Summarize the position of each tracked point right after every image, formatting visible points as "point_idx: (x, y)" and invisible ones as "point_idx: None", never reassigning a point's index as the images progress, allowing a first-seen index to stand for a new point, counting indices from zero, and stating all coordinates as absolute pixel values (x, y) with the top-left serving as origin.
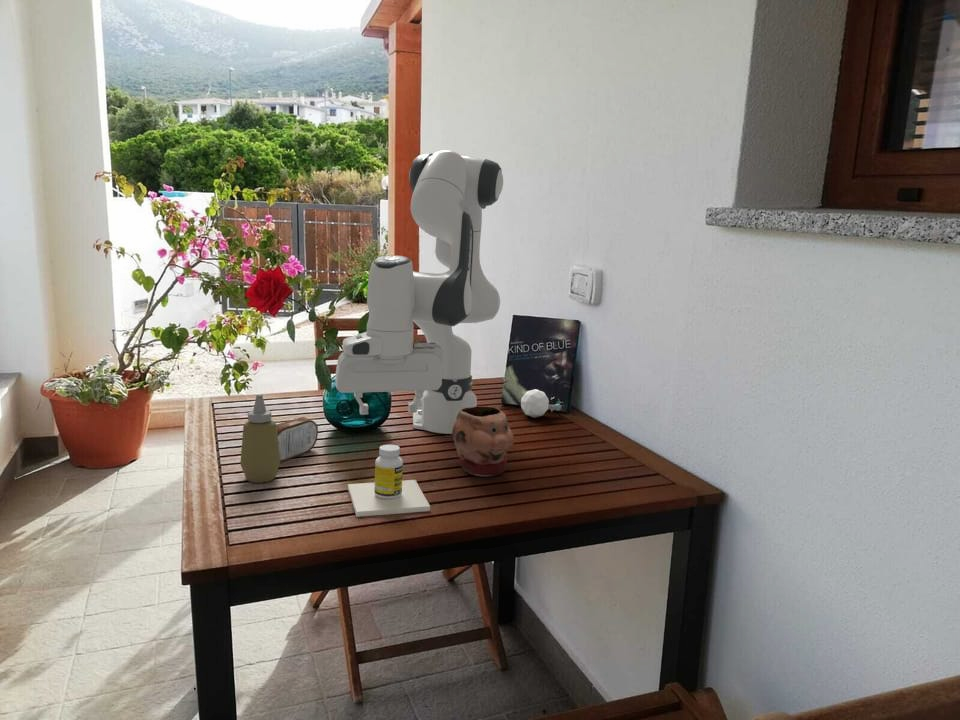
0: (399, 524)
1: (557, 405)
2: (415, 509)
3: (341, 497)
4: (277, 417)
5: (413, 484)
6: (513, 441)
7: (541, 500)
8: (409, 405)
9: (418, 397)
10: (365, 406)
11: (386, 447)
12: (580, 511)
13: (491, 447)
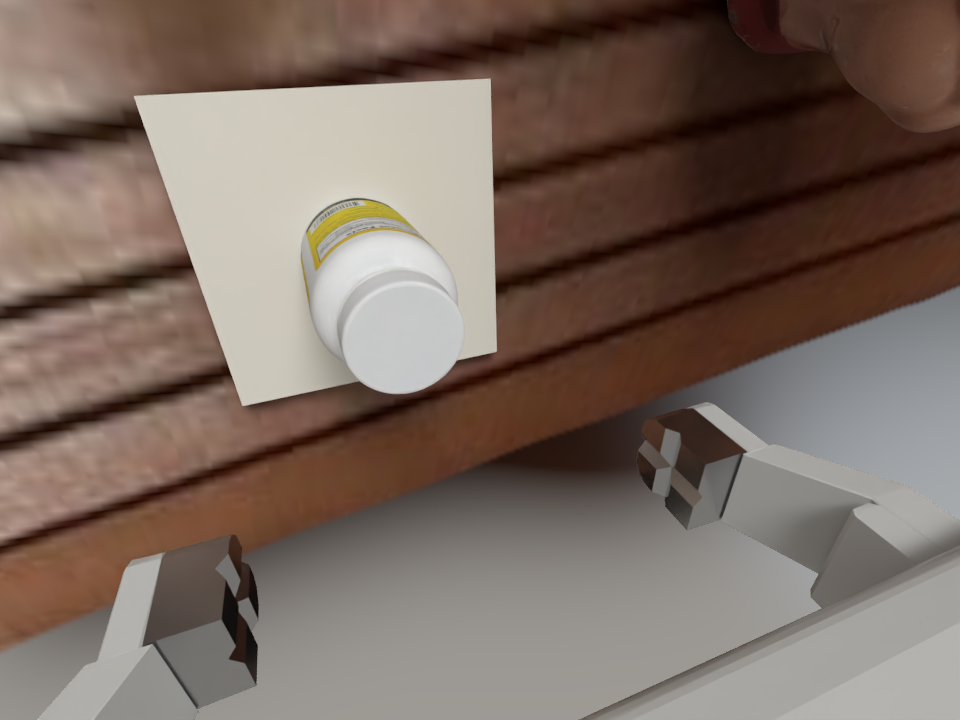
0: (390, 431)
1: None
2: None
3: (132, 210)
4: None
5: (474, 142)
6: None
7: (788, 270)
8: (680, 510)
9: (810, 567)
10: (217, 696)
11: (387, 340)
12: (817, 336)
13: (885, 109)
